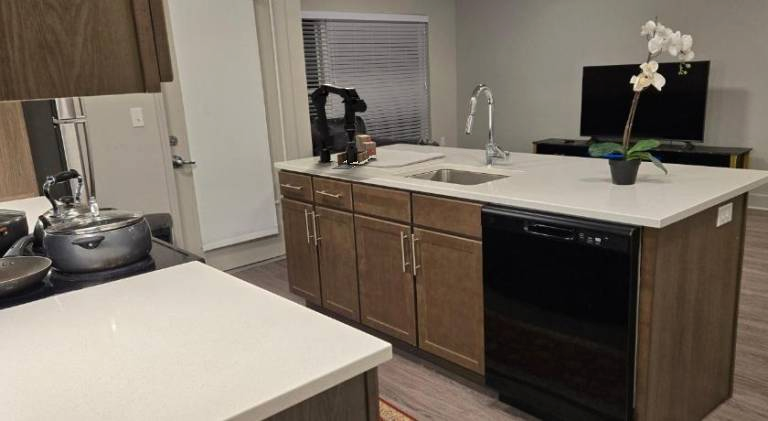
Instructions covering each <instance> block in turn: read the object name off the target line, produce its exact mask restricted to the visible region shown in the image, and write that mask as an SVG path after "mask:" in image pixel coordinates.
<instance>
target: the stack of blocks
mask: <svg viewBox="0 0 768 421" xmlns="http://www.w3.org/2000/svg"><path fill="white" fill-rule="evenodd" d="M355 142H356V147H357V148H358V151H369V156H372V155H376V156H377V142H375V141H372V136H371V135H367V134H358V135H355Z"/></svg>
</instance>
